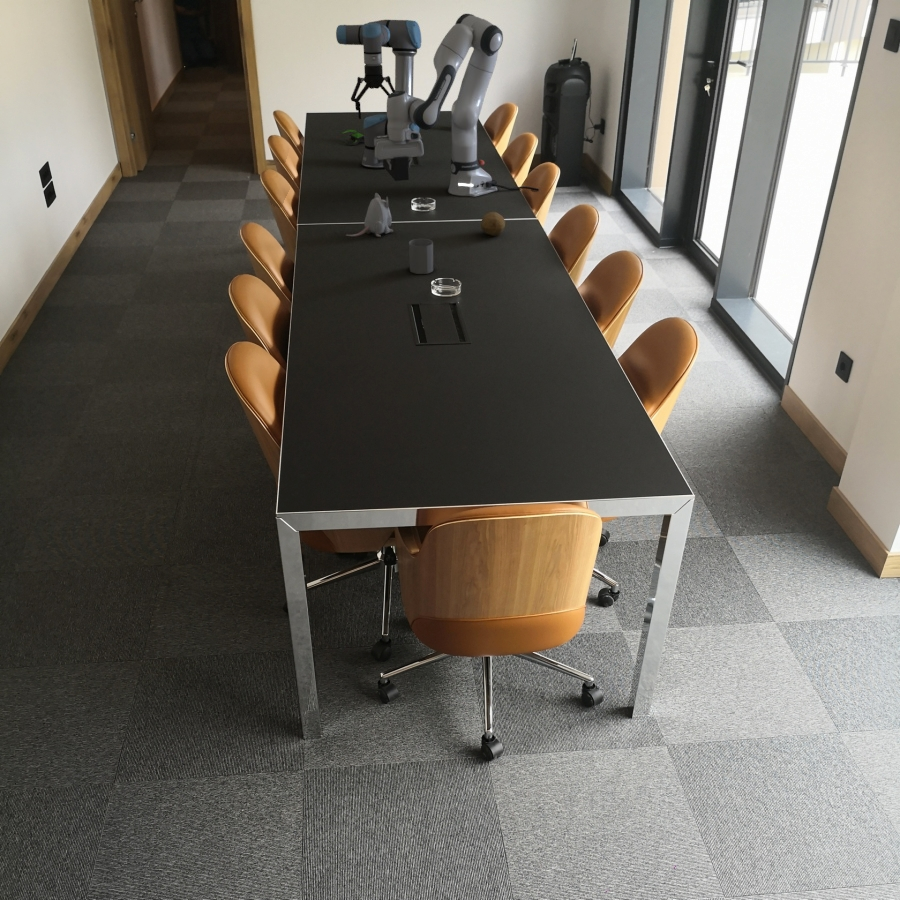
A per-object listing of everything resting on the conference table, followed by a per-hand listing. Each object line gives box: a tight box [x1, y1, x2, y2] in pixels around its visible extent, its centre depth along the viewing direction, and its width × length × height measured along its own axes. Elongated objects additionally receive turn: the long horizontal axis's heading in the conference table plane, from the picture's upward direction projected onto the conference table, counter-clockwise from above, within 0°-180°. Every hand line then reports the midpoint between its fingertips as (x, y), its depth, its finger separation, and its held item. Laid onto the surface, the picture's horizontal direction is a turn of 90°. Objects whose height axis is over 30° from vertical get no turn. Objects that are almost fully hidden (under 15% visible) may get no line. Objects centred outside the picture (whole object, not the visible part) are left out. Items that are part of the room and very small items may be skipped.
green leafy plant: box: [340, 129, 365, 146], centre depth 465 cm, size 6×13×30 cm
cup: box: [408, 237, 434, 275], centre depth 305 cm, size 8×8×10 cm
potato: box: [480, 211, 506, 237], centre depth 338 cm, size 10×14×8 cm
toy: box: [346, 192, 394, 238], centre depth 334 cm, size 9×24×15 cm, turn 137°
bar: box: [383, 157, 410, 182], centre depth 367 cm, size 24×6×9 cm, turn 16°
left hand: (375, 117), depth 374 cm, fingers open, 13 cm apart
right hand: (399, 168), depth 361 cm, fingers closed on bar, 6 cm apart
